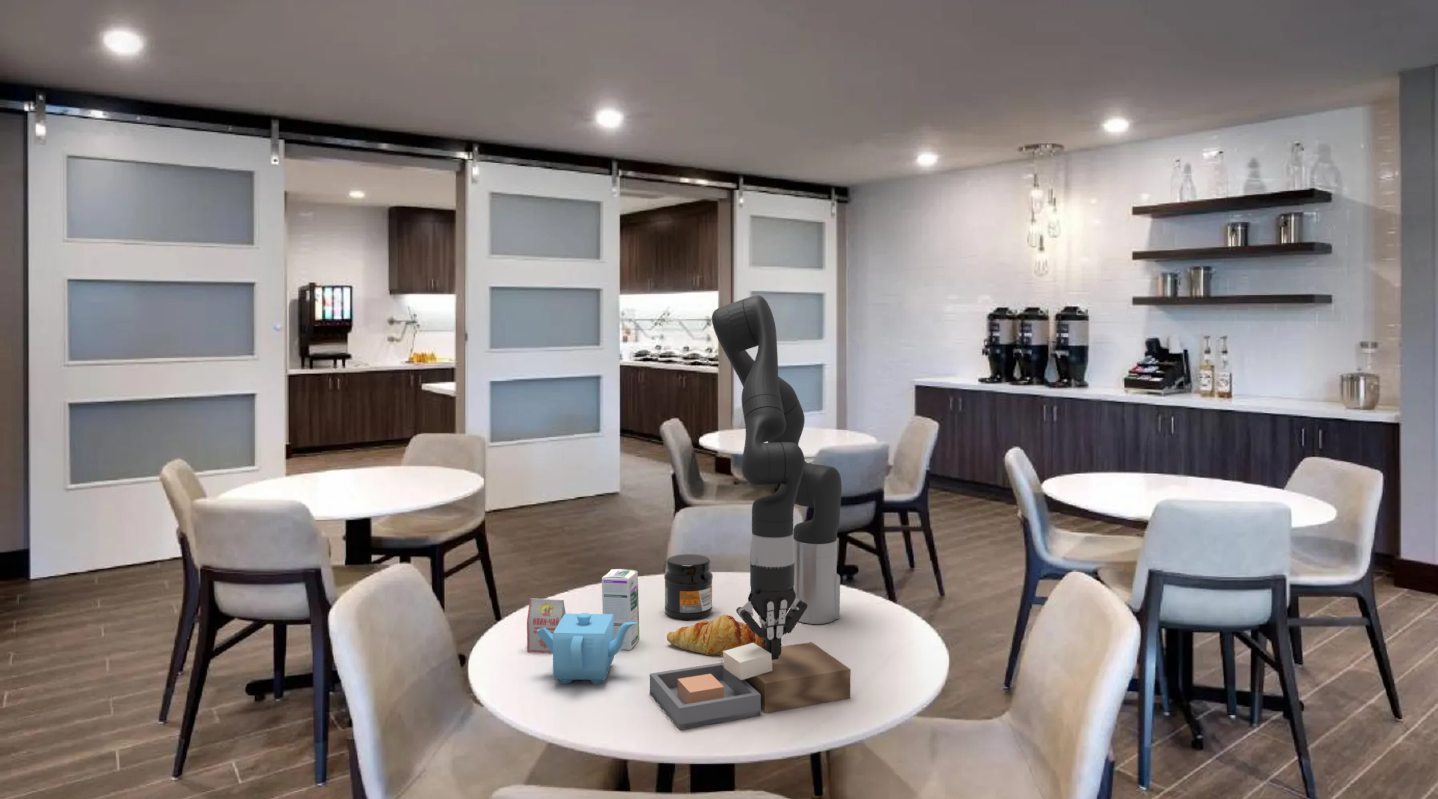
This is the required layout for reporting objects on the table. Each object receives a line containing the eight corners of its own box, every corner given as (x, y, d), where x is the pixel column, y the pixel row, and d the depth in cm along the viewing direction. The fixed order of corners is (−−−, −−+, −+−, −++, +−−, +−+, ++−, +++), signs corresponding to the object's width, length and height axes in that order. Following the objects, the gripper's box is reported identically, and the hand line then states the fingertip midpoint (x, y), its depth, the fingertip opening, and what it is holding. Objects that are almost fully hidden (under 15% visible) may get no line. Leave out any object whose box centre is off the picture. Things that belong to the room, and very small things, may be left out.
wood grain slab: (811, 668, 168) (811, 642, 167) (850, 697, 155) (850, 669, 154) (731, 681, 162) (731, 654, 161) (764, 713, 149) (765, 683, 148)
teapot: (547, 659, 172) (546, 600, 171) (642, 660, 172) (642, 601, 171) (527, 693, 156) (526, 629, 155) (632, 695, 156) (631, 630, 155)
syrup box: (631, 650, 176) (630, 577, 175) (602, 648, 178) (601, 575, 176) (639, 640, 182) (639, 569, 181) (611, 638, 183) (610, 567, 182)
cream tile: (754, 659, 158) (753, 642, 158) (772, 670, 153) (771, 653, 153) (724, 668, 155) (722, 651, 155) (741, 680, 150) (740, 662, 150)
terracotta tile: (677, 678, 153) (677, 696, 153) (690, 692, 148) (690, 710, 148) (710, 673, 155) (710, 690, 156) (724, 686, 150) (724, 704, 150)
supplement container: (715, 620, 194) (715, 565, 193) (666, 622, 193) (666, 566, 192) (709, 604, 205) (709, 552, 204) (662, 606, 203) (662, 554, 202)
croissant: (664, 668, 177) (660, 640, 173) (671, 629, 185) (667, 601, 181) (773, 670, 175) (772, 641, 170) (775, 630, 183) (774, 602, 179)
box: (725, 681, 162) (725, 662, 161) (760, 715, 148) (760, 694, 148) (649, 693, 156) (649, 673, 156) (679, 729, 143) (679, 708, 142)
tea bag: (534, 645, 180) (533, 595, 179) (567, 647, 179) (566, 597, 178) (527, 651, 176) (526, 601, 175) (560, 653, 175) (560, 603, 174)
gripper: (796, 550, 161) (796, 645, 162) (727, 557, 156) (727, 656, 157) (817, 560, 154) (816, 660, 155) (745, 568, 149) (745, 671, 150)
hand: (771, 658), depth 156 cm, fingers closed
